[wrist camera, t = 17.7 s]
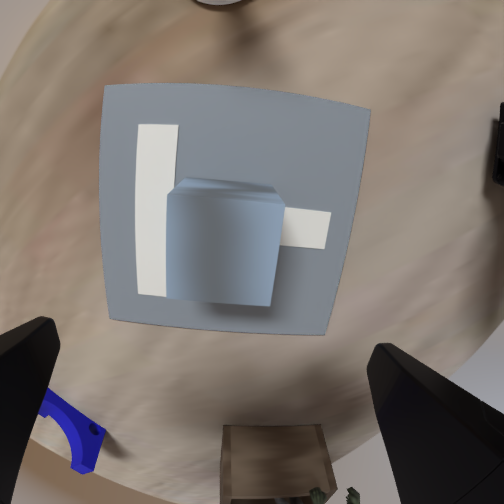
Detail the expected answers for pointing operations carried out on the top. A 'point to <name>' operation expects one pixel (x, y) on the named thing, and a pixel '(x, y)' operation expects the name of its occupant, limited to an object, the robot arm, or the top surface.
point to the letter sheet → (231, 169)
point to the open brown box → (274, 464)
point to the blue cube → (222, 241)
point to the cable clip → (75, 431)
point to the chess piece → (218, 2)
